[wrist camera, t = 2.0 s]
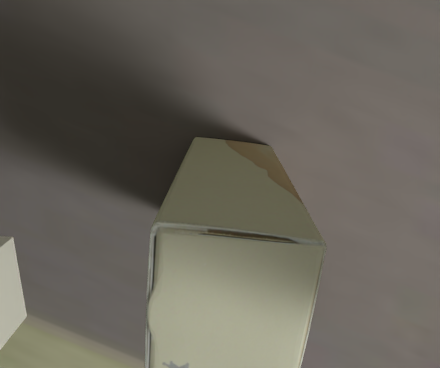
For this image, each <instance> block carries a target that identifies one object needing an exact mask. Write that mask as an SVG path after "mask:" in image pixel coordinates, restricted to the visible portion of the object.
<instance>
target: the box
mask: <svg viewBox="0 0 440 368" xmlns="http://www.w3.org/2000/svg"><path fill="white" fill-rule="evenodd" d="M325 253H326V243H325V241H324V240H323V238H322V236H321V235H320V233H319V231H318V229H317V228H316V226H315V224H314V222H313V221H312V219H311V217H310V215H309V213H308V212H307V210H306V208H305V206H304V204H303V202H302V201H301V199H300V197H299V195H298V193H297V192H296V190H295V188H294V186H293V185H292V183H291V181H290V179H289V177H288V176H287V174H286V172H285V170H284V168H283V166H282V165H281V163H280V161H279V160H278V158H277V156H276V154H275V153H274V151H273V149H272V147H271V146H268V145H261V144H254V143H248V142H240V141H232V140H223V139H213V138H202V137H195V138H194V139H193V141H192V143H191V145H190V147H189V149H188V151H187V154H186V155H185V157H184V159H183V162H182V164H181V166H180V168H179V170H178V172H177V174H176V176H175V178H174V181H173V183H172V185H171V187H170V189H169V191H168V193H167V195H166V197H165V199H164V201H163V204H162V205H161V207H160V209H159V212H158V214H157V216H156V218H155V221H154V223H153V225H152V228H151V233H150V246H149V261H148V280H147V307H146V336H145V368H300V367H301V363H302V360H303V355H304V351H305V347H306V343H307V339H308V334H309V330H310V325H311V320H312V316H313V312H314V307H315V302H316V297H317V292H318V288H319V283H320V278H321V273H322V268H323V262H324V257H325Z"/></svg>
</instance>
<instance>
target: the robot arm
mask: <svg viewBox="0 0 440 368" xmlns="http://www.w3.org/2000/svg"><path fill="white" fill-rule="evenodd" d="M26 317H27V314H26V309H25V303H24V297H23V291H22V286H21V280H20V274H19V269H18V263H17V257H16V251H15V246H14V240H13V237H4V236H0V349H1V348H2V347H3V346H4V344H5V343H6V342H7V341H8V339H9V338H10V337H11V336H12V334H13V333H14V332H15V331H16V329H17V328H18V327H19V326H20V324H21V323H22V322H23V320H24V319H25V318H26Z"/></svg>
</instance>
